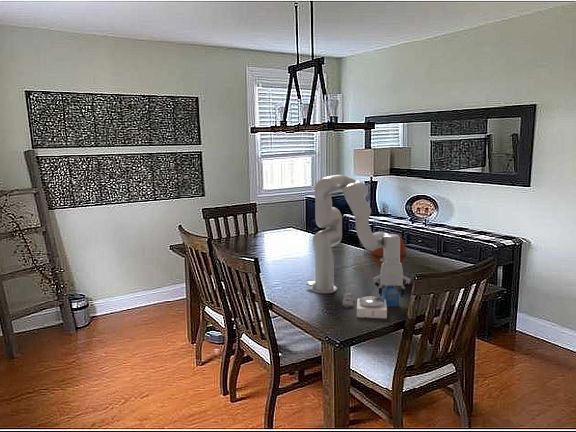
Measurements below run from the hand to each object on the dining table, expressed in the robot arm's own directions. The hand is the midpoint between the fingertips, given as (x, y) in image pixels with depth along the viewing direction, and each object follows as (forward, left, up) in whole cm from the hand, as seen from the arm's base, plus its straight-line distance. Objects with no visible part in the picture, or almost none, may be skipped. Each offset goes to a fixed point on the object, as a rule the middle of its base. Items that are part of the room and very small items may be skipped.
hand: (391, 295), depth 221 cm
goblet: (0, +39, -4) cm, 39 cm away
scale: (-9, -11, -4) cm, 15 cm away
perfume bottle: (0, 0, -4) cm, 4 cm away
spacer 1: (-20, +3, -4) cm, 21 cm away
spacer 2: (-20, -4, -4) cm, 21 cm away
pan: (-9, -11, +1) cm, 14 cm away
